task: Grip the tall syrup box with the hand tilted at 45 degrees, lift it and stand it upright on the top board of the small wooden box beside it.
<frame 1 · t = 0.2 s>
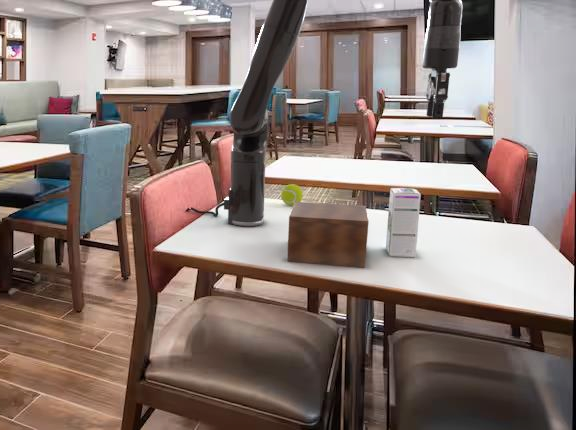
hand: (434, 117, 130), 29 cm above the table, tool pointing down, fingers open, 8 cm apart
syrup box: (399, 253, 122), on the table
wooden box: (326, 253, 121), on the table
tennis ball: (291, 205, 169), on the table
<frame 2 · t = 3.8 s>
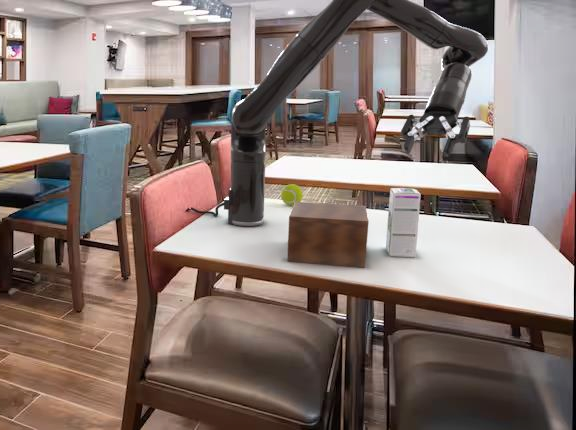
hand: (426, 152, 125), 22 cm above the table, tool tilted 45°, fingers open, 8 cm apart
nothing on the table moved.
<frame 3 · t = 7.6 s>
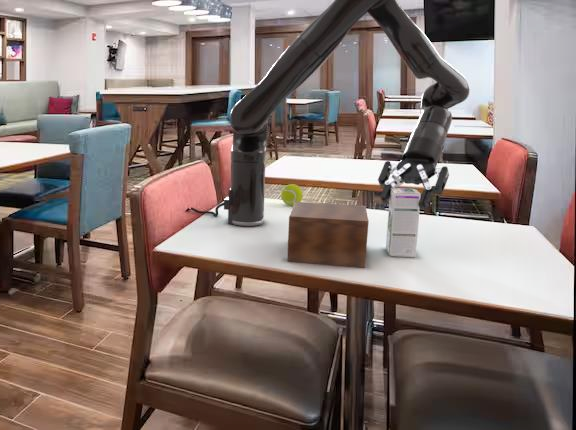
hand: (402, 204, 118), 12 cm above the table, tool tilted 45°, fingers closed on syrup box, 7 cm apart
syrup box: (399, 253, 122), on the table, touching gripper
everything else where it was.
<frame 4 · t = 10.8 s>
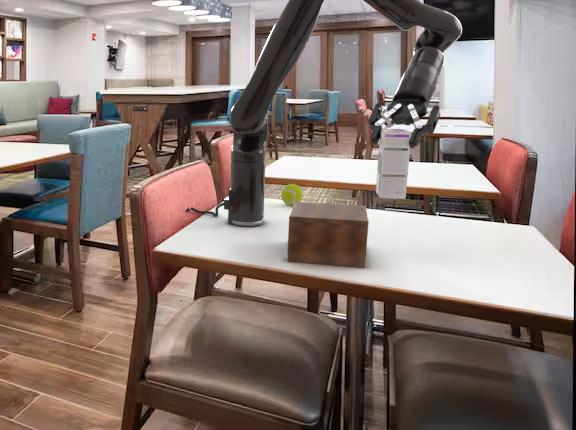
hand: (392, 144, 115), 25 cm above the table, tool tilted 45°, fingers closed on syrup box, 7 cm apart
syrup box: (389, 197, 119), point 13 cm above the table, touching gripper
everything else where it was.
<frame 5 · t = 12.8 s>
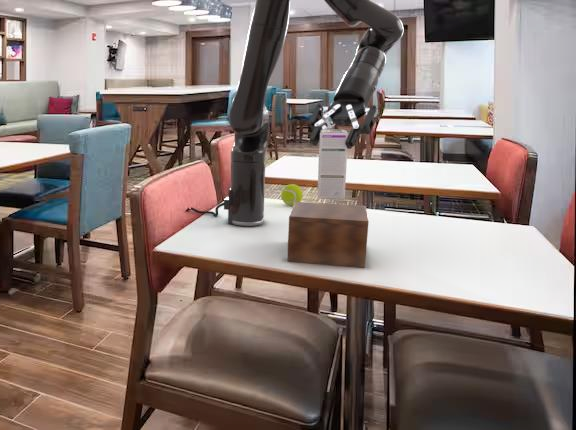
hand: (330, 144, 114), 25 cm above the table, tool tilted 45°, fingers closed on syrup box, 7 cm apart
syrup box: (330, 197, 118), point 13 cm above the table, touching gripper
everything else where it was.
when the fingers open (22 cm above the table, at t = 14.4 s): syrup box stays where it is, resting on wooden box.
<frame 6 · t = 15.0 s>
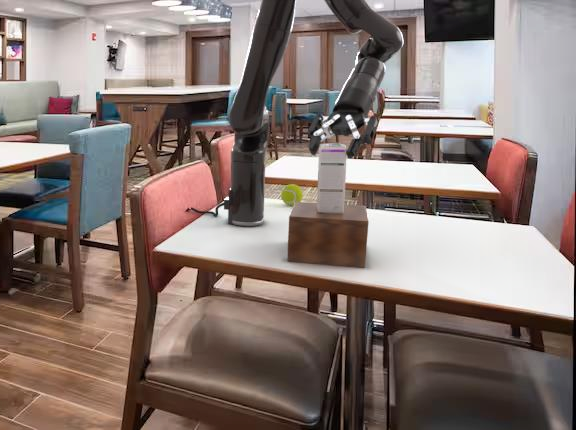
hand: (330, 154, 115), 23 cm above the table, tool tilted 45°, fingers open, 8 cm apart
syrup box: (329, 211, 119), point 10 cm above the table, touching wooden box
everything else where it was.
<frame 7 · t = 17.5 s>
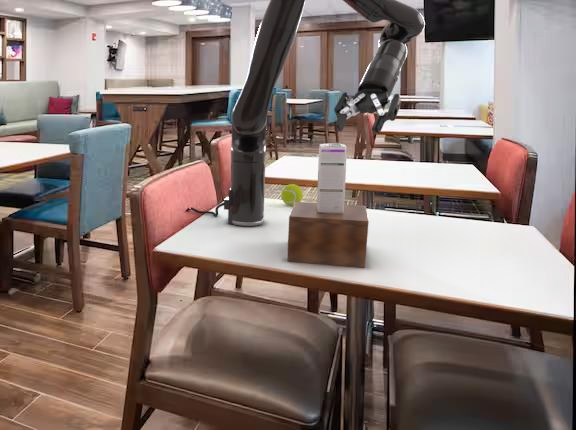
hand: (356, 130, 124), 27 cm above the table, tool tilted 45°, fingers open, 8 cm apart
nothing on the table moved.
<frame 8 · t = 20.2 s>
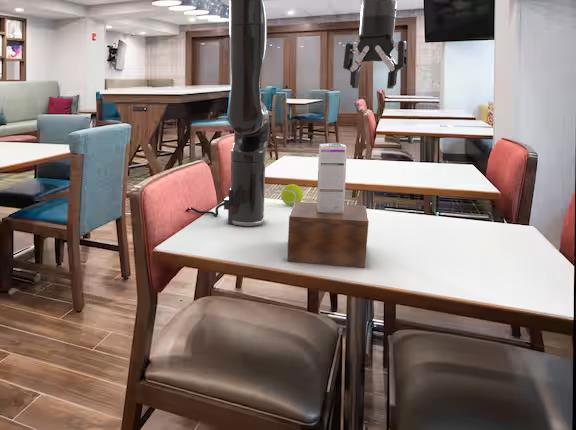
hand: (372, 88, 128), 36 cm above the table, tool pointing down, fingers open, 8 cm apart
nothing on the table moved.
at the end: syrup box inside the target area on the wooden box (0.1 cm from its centre), point 9.8 cm above the wooden box's base; syrup box tilted 0°; the gripper is holding nothing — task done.
